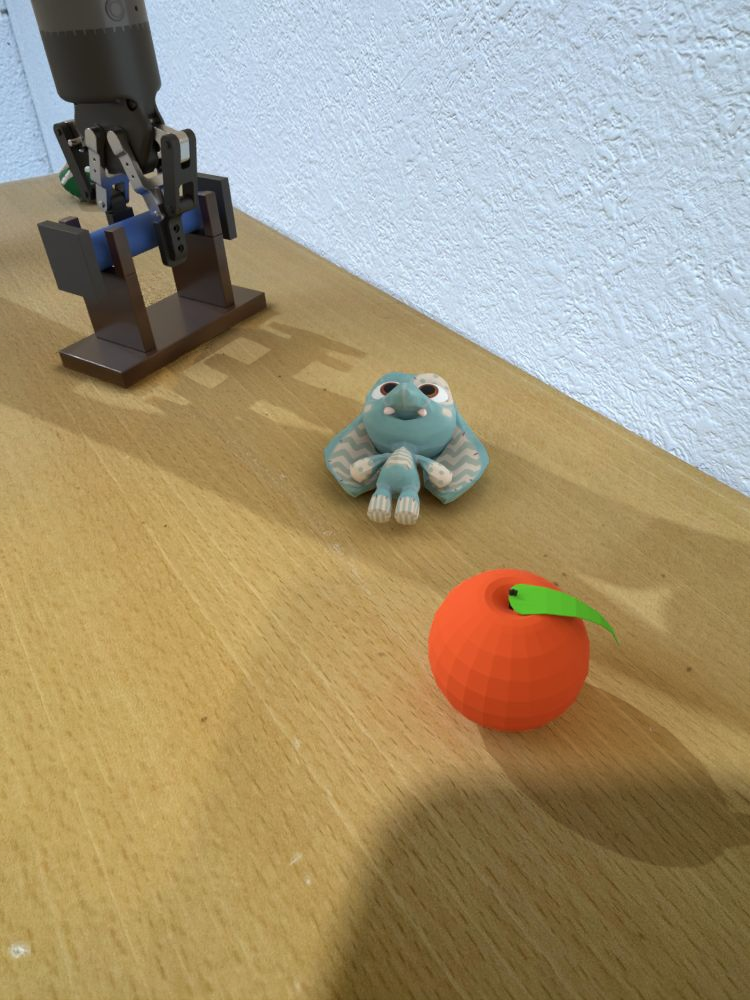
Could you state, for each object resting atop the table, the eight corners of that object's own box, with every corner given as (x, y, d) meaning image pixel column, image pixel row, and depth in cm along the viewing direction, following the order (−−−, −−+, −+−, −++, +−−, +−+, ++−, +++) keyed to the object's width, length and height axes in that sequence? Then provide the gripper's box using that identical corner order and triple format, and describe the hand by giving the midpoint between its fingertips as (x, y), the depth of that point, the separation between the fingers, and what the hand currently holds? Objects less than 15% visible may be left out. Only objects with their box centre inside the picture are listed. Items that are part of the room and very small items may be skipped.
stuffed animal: (290, 466, 38) (333, 332, 46) (309, 543, 44) (345, 412, 51) (488, 479, 36) (498, 337, 44) (482, 558, 42) (492, 420, 49)
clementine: (596, 647, 34) (622, 541, 30) (608, 777, 29) (642, 673, 25) (434, 631, 36) (436, 527, 31) (419, 753, 30) (418, 649, 26)
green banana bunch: (92, 200, 106) (54, 175, 102) (105, 179, 105) (67, 153, 101) (99, 217, 99) (58, 191, 95) (113, 194, 98) (72, 167, 94)
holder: (126, 388, 57) (82, 247, 49) (63, 366, 60) (14, 231, 53) (267, 306, 68) (248, 182, 61) (207, 292, 72) (183, 172, 64)
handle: (199, 229, 66) (188, 170, 63) (237, 237, 64) (228, 177, 61) (58, 289, 56) (36, 223, 52) (98, 302, 54) (77, 233, 50)
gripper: (204, 13, 48) (244, 257, 59) (71, 13, 55) (129, 233, 65) (120, 26, 43) (181, 289, 54) (-15, 24, 50) (63, 260, 61)
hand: (152, 257), depth 60 cm, fingers open, 5 cm apart
